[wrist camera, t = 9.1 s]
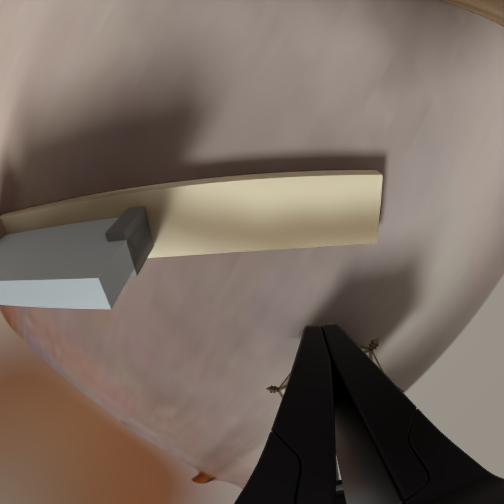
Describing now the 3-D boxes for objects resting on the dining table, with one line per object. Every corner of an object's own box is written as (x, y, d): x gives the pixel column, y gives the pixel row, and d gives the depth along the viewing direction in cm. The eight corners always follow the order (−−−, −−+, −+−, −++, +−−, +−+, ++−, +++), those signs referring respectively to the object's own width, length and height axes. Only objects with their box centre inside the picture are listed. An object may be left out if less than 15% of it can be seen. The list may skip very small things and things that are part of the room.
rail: (370, 234, 17) (395, 272, 14) (15, 260, 18) (-12, 289, 15) (375, 169, 15) (407, 194, 12) (-2, 215, 16) (-34, 240, 13)
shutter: (154, 245, 16) (114, 317, 11) (15, 257, 17) (-32, 307, 12) (144, 206, 15) (94, 267, 10) (4, 228, 16) (-48, 274, 10)
